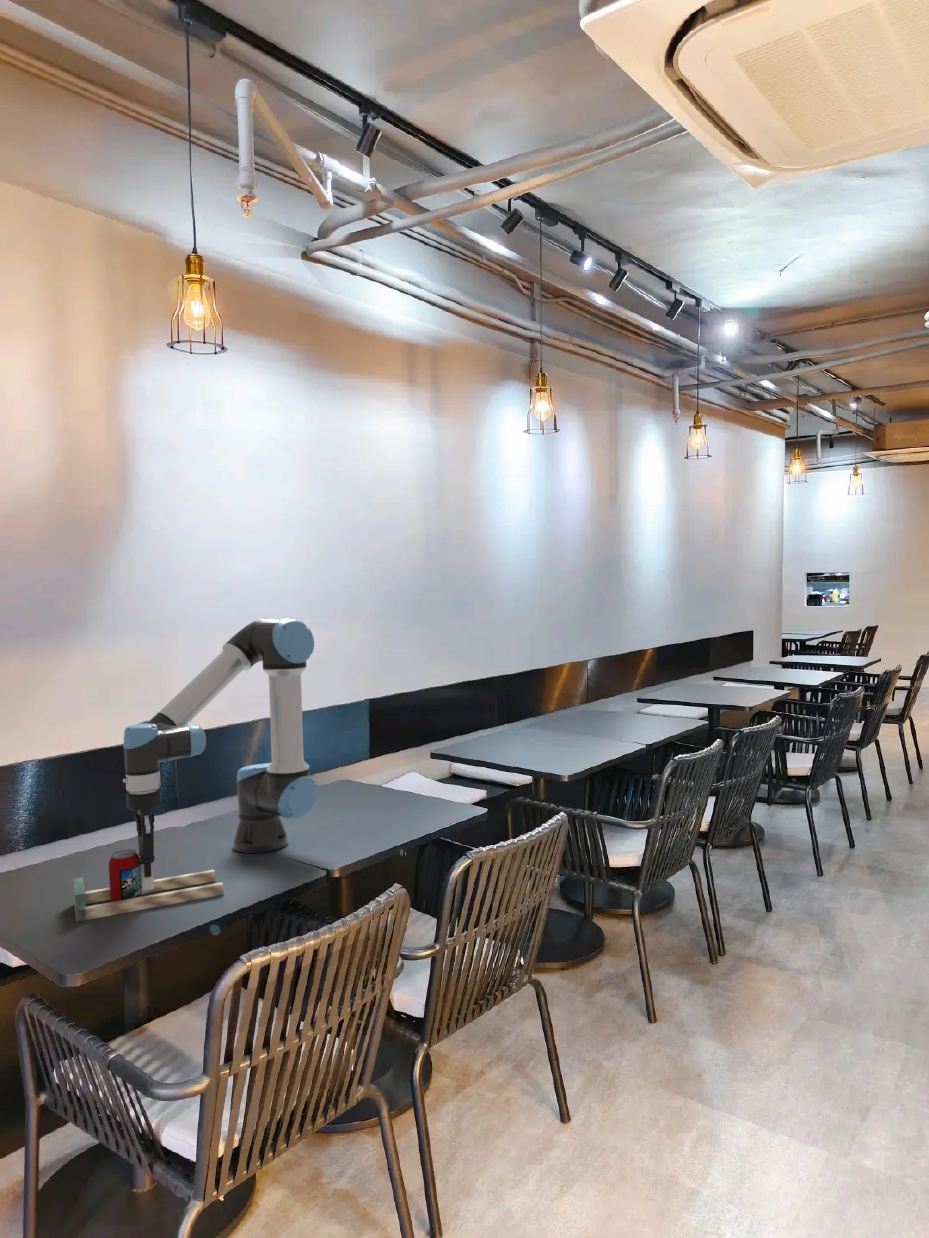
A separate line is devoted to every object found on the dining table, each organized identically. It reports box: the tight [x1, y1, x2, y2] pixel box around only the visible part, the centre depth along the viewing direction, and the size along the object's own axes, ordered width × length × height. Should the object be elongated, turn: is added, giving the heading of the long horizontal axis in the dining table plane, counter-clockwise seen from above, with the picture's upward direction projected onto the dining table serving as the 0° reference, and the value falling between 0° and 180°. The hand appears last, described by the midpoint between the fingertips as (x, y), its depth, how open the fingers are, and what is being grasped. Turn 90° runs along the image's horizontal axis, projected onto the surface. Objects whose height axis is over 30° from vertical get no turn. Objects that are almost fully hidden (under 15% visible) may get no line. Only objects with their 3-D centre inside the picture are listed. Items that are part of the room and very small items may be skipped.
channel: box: [72, 869, 225, 923], centre depth 197 cm, size 32×12×6 cm, turn 117°
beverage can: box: [108, 849, 143, 902], centre depth 194 cm, size 7×7×12 cm
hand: (147, 888), depth 196 cm, fingers closed
